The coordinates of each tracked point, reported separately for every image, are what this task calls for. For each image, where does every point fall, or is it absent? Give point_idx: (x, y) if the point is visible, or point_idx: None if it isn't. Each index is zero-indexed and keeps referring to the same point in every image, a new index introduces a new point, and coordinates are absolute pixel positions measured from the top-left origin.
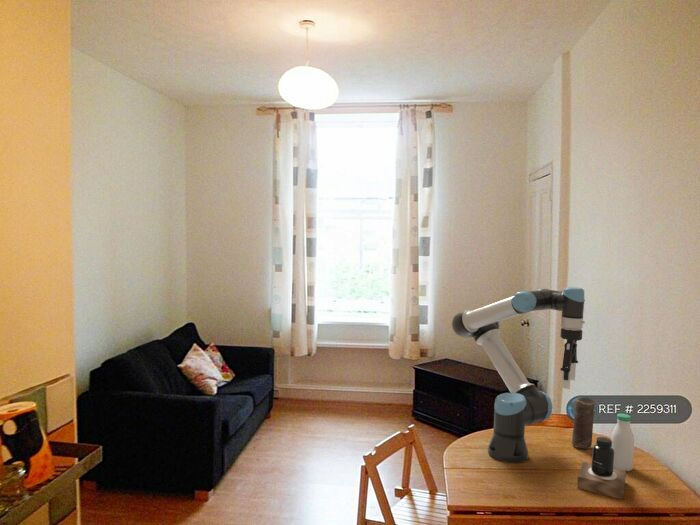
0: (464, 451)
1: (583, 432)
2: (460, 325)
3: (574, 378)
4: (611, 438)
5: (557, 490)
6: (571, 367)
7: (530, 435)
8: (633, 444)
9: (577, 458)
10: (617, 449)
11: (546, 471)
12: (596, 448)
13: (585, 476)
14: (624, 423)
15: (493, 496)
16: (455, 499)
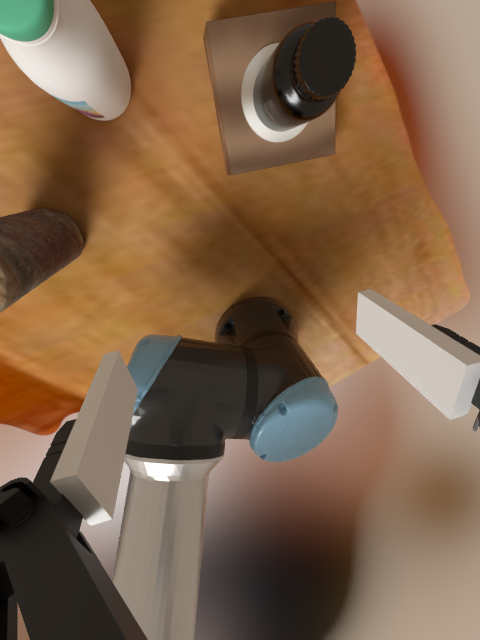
0: None
1: (58, 235)
2: None
3: (117, 361)
4: (92, 99)
5: (357, 189)
6: (108, 455)
7: None
8: None
9: (148, 215)
10: (119, 69)
11: (280, 244)
12: (335, 97)
13: (324, 136)
14: None
15: (432, 270)
16: (461, 305)
